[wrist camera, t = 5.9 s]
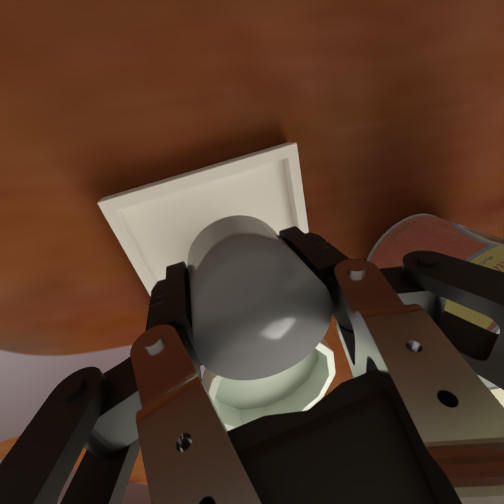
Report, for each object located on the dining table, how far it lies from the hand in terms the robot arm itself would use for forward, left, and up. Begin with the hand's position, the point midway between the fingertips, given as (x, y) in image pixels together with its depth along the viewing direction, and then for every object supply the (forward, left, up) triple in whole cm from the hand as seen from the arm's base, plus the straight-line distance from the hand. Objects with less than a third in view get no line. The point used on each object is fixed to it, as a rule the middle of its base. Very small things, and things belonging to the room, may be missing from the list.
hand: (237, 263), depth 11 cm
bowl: (+21, 0, -10) cm, 23 cm away
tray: (+4, 0, -10) cm, 11 cm away
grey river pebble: (0, 0, 0) cm, 0 cm away
